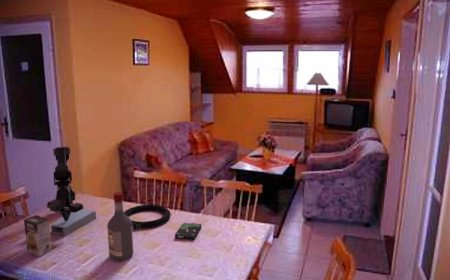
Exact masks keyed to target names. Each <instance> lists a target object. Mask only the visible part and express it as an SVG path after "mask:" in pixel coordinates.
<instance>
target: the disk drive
mask: <svg viewBox="0 0 450 280" xmlns="http://www.w3.org/2000/svg"><path fill="white" fill-rule="evenodd" d="M201 229H202V223H196V222H195V223H194V222H192V223H191V222H190V223H189V222H184V223H182V224H181V225H180V227H179V228H178V229H177V230H176V232H175V234H174V239H175V240H176V239H177V240H185V241H186V240H187V241H195V240H196V238H197V236H198V235H199V233H200V231H201Z"/></svg>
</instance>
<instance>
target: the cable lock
mask: <svg viewBox="0 0 450 280" xmlns="http://www.w3.org/2000/svg"><path fill="white" fill-rule="evenodd" d="M144 211H145V212H146V211H148V212H149V211H154V212H159V213H162V214H163V216H161V217H160V218H157V219H154V220H148V221H138V220H137V221H135V220H132V219H131V221H132V232H133V231H135V230H142V229H151V228H155V227H159V226H161V225H163V224H165V223H166V222H168V221H169V220H170V219H171V211H170V210H169V209H168V208H167V207H165V206H164V205H163V206H162V205H159V204H142V205H141V204H140V205H135V206H134V207H133V206H132V207H131V208H128V209H125V211H124V214H125V215H126V216H127V217H128V218H129V216H131V215H132V214H135V213H140V212H144Z"/></svg>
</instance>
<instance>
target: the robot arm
mask: <svg viewBox="0 0 450 280" xmlns="http://www.w3.org/2000/svg"><path fill="white" fill-rule="evenodd" d="M52 150H53V156H54V157H55V160H56V161H57V165H56V166H55V167H54V171H53V185H54V186H56V194H55V198H54V199H51V200H49V201H48V202H47V204H46V208H48V209H49V210H50V211H51V212H54V213H57V212H59V213H60V214H61V217H62V219H63V218H64V220H65V221H68V219H69V216H70V215H71V214H73V213H75V212H78V211H80V210H82V209H84V205H83V203H78V202H75V203H74V201H75V200H76V192H75V191H74V190H73V187H72V186H71V184H72V181H73V176H72V174H73V173H72V172H71V170H70V169H69V166H68V161H69V159H70V155H71V147H68V146H57V147H55V148H53V149H52Z"/></svg>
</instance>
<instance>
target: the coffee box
mask: <svg viewBox="0 0 450 280" xmlns="http://www.w3.org/2000/svg"><path fill="white" fill-rule="evenodd" d="M23 222H24V234H25V240H26V248H27V249H26V251H27V253H30V254H33V255H35V256H37V257H43V256H44V255H45V254H48V253H50V252H52V244H51V241H52V240H51V227H50V220H49V218H47V217H44V216H40V215H37V214H35V215H33V216H30V217H27V218H25V219H23Z"/></svg>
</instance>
